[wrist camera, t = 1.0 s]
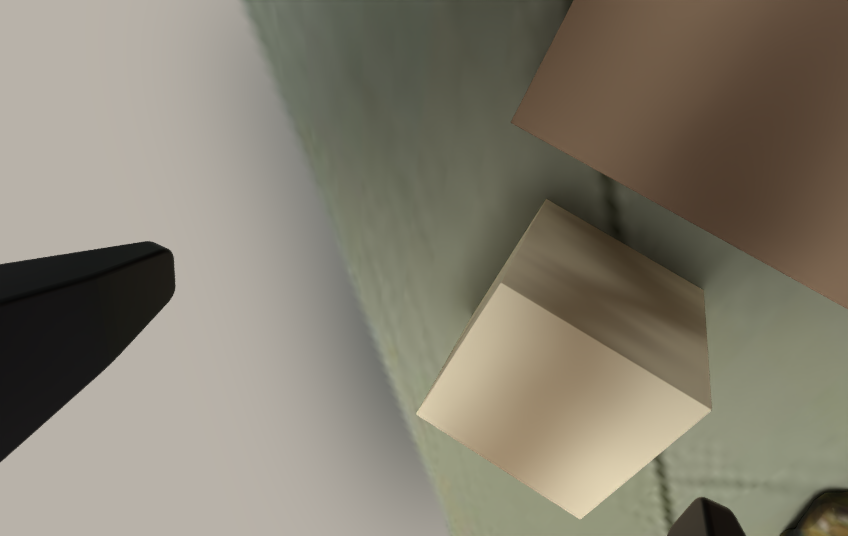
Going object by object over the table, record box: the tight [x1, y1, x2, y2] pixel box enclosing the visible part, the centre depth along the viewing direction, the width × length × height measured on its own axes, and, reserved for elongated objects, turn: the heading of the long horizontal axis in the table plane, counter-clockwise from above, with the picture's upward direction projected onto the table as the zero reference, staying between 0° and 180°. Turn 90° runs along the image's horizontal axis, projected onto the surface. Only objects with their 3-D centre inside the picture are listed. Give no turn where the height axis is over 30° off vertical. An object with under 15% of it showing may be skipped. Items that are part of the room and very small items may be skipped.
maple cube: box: [416, 199, 712, 519], centre depth 18 cm, size 6×6×6 cm
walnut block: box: [511, 0, 848, 309], centre depth 12 cm, size 10×10×4 cm
